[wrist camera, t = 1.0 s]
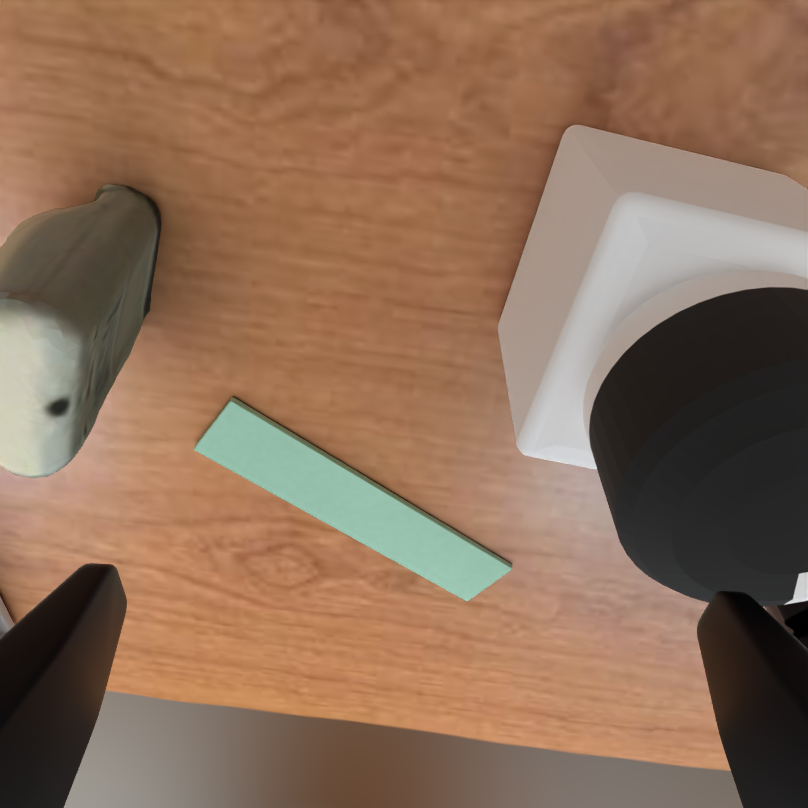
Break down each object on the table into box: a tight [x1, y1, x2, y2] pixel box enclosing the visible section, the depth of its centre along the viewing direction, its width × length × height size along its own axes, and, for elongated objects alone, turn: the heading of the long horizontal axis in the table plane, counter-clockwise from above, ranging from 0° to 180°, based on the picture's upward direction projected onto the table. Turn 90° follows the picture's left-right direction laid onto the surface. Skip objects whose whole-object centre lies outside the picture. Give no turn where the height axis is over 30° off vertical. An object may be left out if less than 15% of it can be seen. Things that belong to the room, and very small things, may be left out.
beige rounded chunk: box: [0, 184, 161, 478], centre depth 18 cm, size 6×5×8 cm
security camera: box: [498, 125, 808, 607], centre depth 16 cm, size 7×7×12 cm
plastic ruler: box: [194, 397, 512, 601], centre depth 28 cm, size 15×3×1 cm, turn 52°
